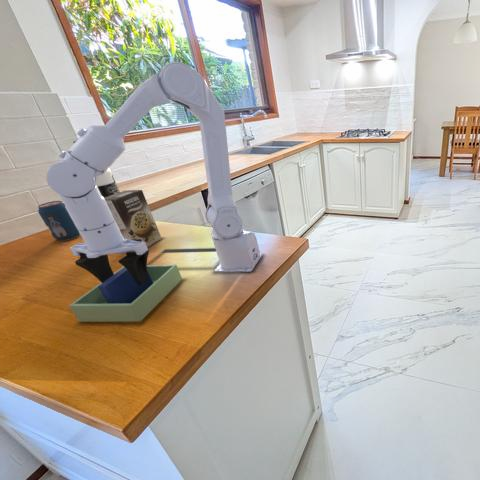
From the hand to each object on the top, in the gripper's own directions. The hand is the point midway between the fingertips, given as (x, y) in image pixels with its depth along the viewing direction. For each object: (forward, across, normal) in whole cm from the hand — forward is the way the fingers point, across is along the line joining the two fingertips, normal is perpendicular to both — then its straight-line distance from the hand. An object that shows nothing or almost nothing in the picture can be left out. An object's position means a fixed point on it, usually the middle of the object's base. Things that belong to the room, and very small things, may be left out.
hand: (126, 282), depth 61 cm
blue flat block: (+4, 0, 0) cm, 4 cm away
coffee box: (+5, -18, +26) cm, 32 cm away
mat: (+5, +2, +17) cm, 18 cm away
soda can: (+5, -50, +33) cm, 60 cm away
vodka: (+5, -32, +35) cm, 48 cm away
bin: (+5, 0, 0) cm, 5 cm away
